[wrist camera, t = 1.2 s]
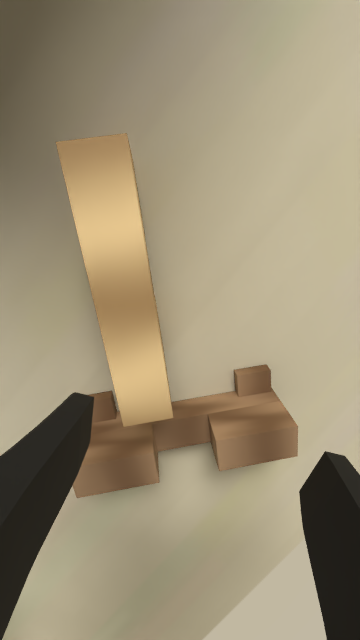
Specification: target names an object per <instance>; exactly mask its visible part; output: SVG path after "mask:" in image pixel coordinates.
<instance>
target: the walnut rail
mask: <svg viewBox="0 0 360 640" xmlns="http://www.w3.org/2000/svg"><path fill="white" fill-rule="evenodd" d="M234 377H235V390H236V391H233V392H227V393H222V394H216V395H210V396H205V397H199V398H193V399H187V400H182V401H176V402H171V404H172V411H173V418H171V419H165V420H159V421H154V422H148V423H143V424H137V425H131V426H126V427H123V422H122V418H121V414H120V411H119V412H117V410H116V406H115V402H114V398H113V394H112V391H109V392H103V393H97V394H91V395H88V396H93V397H94V406H93V417H92V428H91V439H90V444H89V447H88V449H87V452H86V455H85V457H84V460H83V462H82V465H81V468H80V470H79V473H78V475H77V477H76V479H75V481H74V483H73V488H74V491H75V494H76V497H77V498H80V497H85V496H90V495H96V494H101V493H106V492H111V491H117V490H122V489H127V488H132V487H138V486H143V485H148V484H154V483H159V469H158V453H157V451H163V450H168V449H174V448H179V447H185V446H190V445H196V444H201V443H206V442H211V444H212V448H213V451H214V455H215V458H216V462H217V465H218V469H219V471H222V470H227V469H233V468H238V467H243V466H248V465H254V464H259V463H264V462H269V461H275V460H280V459H285V458H291V457H296V456H297V452H298V426H297V424H296V423H295V421H294V420H293V418H292V417H291V415H290V414H289V413H288V411H287V410H286V408H285V407H284V405H283V404H282V402H281V401H280V399H279V398H278V397H277V395H276V394H275V392H274V391H273V389H272V388H271V370H270V369H269V367H268V366H267V365H261V366H255V367H249V368H243V369H237V370H234Z"/></svg>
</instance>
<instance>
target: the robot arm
mask: <svg viewBox="0 0 360 640" xmlns="http://www.w3.org/2000/svg"><path fill="white" fill-rule="evenodd" d="M93 406H94V397H93V396H88V395H84V394H80V393H76V392H75V393H73V394H71V395H70V396H69V397H68V398H67V399H66V400H65V401H64V402H63V403H62V404H61V405H60V406H59V407H57V408H56V409H55V410H54V411H53V412H52V413H51V414H50V415H49V416H48V417H47V418H45V419H44V420H43V421H42V422H41V423H40V424H39V425H38V426H36V427H35V428H34V429H33V430H32V431H31V432H29V433H28V434H27V435H26V436H25V437H23V438H22V439H21V440H20V441H19V442H18V443H16V444H15V445H14V446H13V447H11V448H10V449H9V450H8V451H6V452H5V453H4V454H2V455H1V456H0V640H2V638H3V636H4V633H5V631H6V628H7V626H8V623H9V621H10V618H11V616H12V613H13V611H14V608H15V606H16V604H17V601H18V599H19V596H20V594H21V591H22V589H23V587H24V584H25V582H26V579H27V577H28V574H29V572H30V570H31V568H32V566H33V563H34V561H35V559H36V557H37V555H38V553H39V551H40V549H41V547H42V545H43V543H44V541H45V539H46V537H47V535H48V533H49V531H50V529H51V527H52V525H53V523H54V521H55V519H56V517H57V515H58V513H59V511H60V509H61V507H62V505H63V503H64V501H65V499H66V497H67V495H68V493H69V491H70V489H71V487H72V485H73V483H74V481H75V479H76V477H77V475H78V473H79V470H80V468H81V465H82V462H83V460H84V457H85V455H86V452H87V449H88V447H89V444H90V439H91V428H92V417H93ZM299 493H300V504H301V515H302V523H303V530H304V535H305V540H306V544H307V549H308V554H309V558H310V563H311V567H312V572H313V576H314V580H315V585H316V590H317V593H318V599H319V603H320V607H321V612H322V616H323V621H324V626H325V631H326V636H327V640H360V475H359V473H358V472H357V471H356V469H355V468H354V467H353V466H352V464H351V463H350V462H349V461H348V459H347V458H346V457H345V456H343V455H339V454H334V453H330V452H326V451H325V452H324V454H323V456H322V457H321V459H320V460H319V462H318V463H317V465H316V466H315V468H314V469H313V471H312V472H311V474H310V476H309V477H308V479H307V480H306V482H305V483H304V485H303V486H302V488H301V489H300V491H299Z"/></svg>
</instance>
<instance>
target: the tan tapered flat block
mask: <svg viewBox="0 0 360 640" xmlns="http://www.w3.org/2000/svg"><path fill="white" fill-rule="evenodd" d="M56 145H57V150H58V154H59V158H60V162H61V166H62V170H63V175H64V179H65V183H66V187H67V191H68V196H69V200H70V204H71V208H72V212H73V217H74V221H75V225H76V229H77V233H78V238H79V242H80V246H81V250H82V254H83V259H84V263H85V267H86V271H87V275H88V280H89V284H90V288H91V292H92V296H93V301H94V305H95V309H96V313H97V317H98V322H99V326H100V330H101V334H102V338H103V343H104V347H105V351H106V355H107V359H108V364H109V368H110V372H111V376H112V380H113V385H114V389H115V393H116V397H117V401H118V406H119V410H120V414H121V418H122V422H123V427H126V426H131V425H137V424H143V423H148V422H154V421H159V420H165V419H171V418H173V411H172V404H171V398H170V391H169V384H168V377H167V370H166V363H165V356H164V350H163V344H162V337H161V331H160V325H159V319H158V313H157V307H156V301H155V296H154V291H153V284H152V278H151V272H150V266H149V260H148V254H147V248H146V241H145V233H144V227H143V221H142V215H141V208H140V202H139V196H138V190H137V184H136V178H135V171H134V165H133V159H132V154H131V150H130V146H129V141H128V137H127V133H125V134H117V135H108V136H100V137H92V138H84V139H76V140H68V141H60V142H56Z"/></svg>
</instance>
